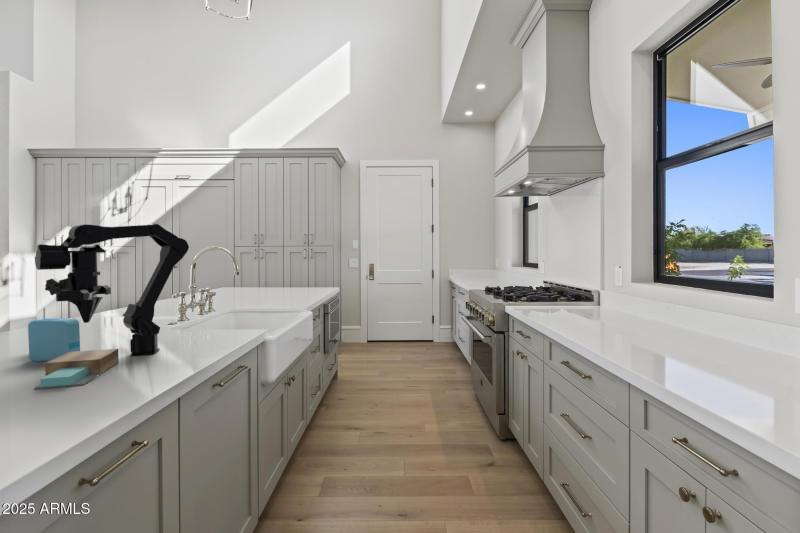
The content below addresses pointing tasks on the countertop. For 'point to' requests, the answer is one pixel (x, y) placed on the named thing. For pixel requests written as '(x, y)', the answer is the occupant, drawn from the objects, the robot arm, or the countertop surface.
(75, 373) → the teal flat block
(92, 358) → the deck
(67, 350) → the data package
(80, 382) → the mat
